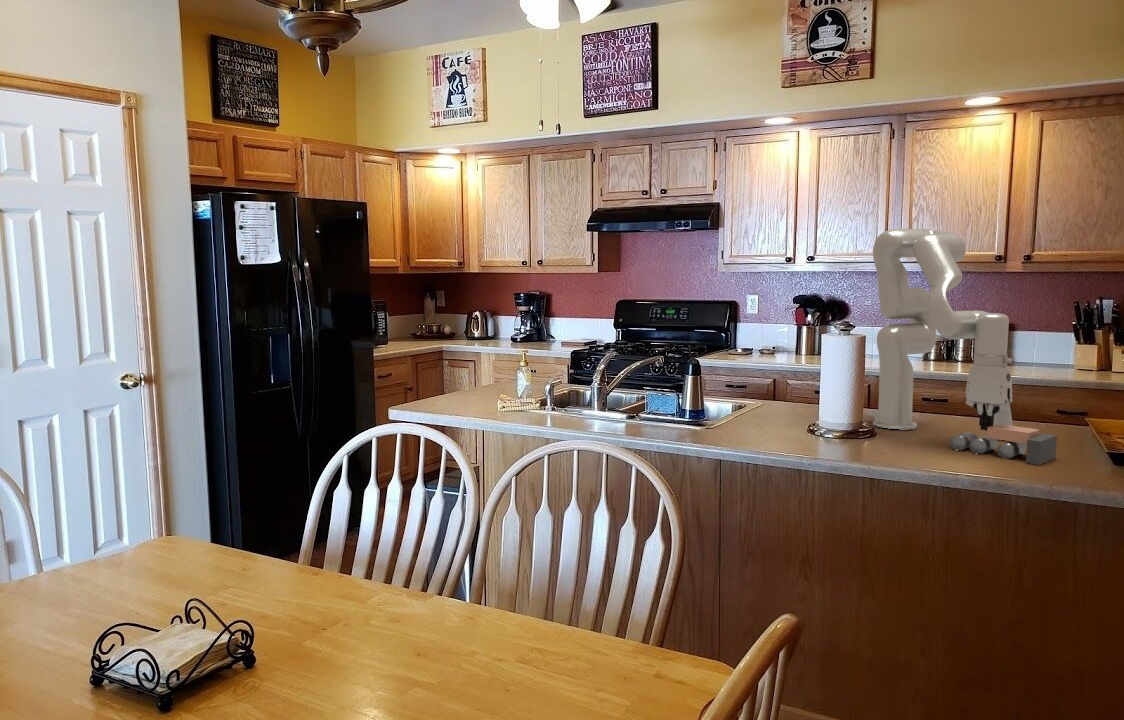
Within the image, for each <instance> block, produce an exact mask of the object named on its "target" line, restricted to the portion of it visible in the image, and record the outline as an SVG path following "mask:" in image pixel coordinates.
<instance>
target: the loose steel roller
mask: <svg viewBox="0 0 1124 720" xmlns="http://www.w3.org/2000/svg"><path fill="white" fill-rule="evenodd" d="M1026 451H1027V444H1025V443H1019V442H1012V441H1006V442H1004V443H1001V444H999V445H997V447H996V453H997V455H998V456H999V457H1000V458H1001V457H1004V458H1010V459H1012V458H1015V457H1017V456H1020V455H1022V454H1024V453H1025V452H1026ZM1004 458H1003V459H1004Z"/></svg>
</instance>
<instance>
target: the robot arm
mask: <svg viewBox="0 0 1124 720" xmlns="http://www.w3.org/2000/svg"><path fill="white" fill-rule="evenodd" d="M966 250H967V248H966V243H965V241H964V239H963V238H962V237H961V236H960V235H958V234H956V233H952V232H946V231H942V230H937V229H931V228H895V229H894V228H893V229H890V230H885V231H883V232H882V233H880V234H879V235H878V236H877V238H876V239H875V241H874V245H873V247H872V258H873V262H874V266H875V271H876V275H877V287H878V301H879V302H878V303H879V310H880V314H881V316H882V317H883V318H885V319H888V320H909V322H908V323H907V322H906V323H893V324H888V325H885V326H883V327H882V328H881V329H879V330H878V333H877V336H876V346H877V351H878V360H879V374H878V375H879V377H878V378H879V380H878V381H879V383H878V388H879V389H878V410H873V409H869V410H868V411H867V417H869V418H870V417H871V418H874V420H873V421H872V426H874V425H875V426H878V427H882V428H888V429H887V430H889V429H899V430H898V431H909V430H910V429H911V430H916V429H917V428H918V422H915V421H913V398H914V397H913V396H914V395H913V394H914V390H913V389H914V367H913V365H912V363H911V361H910V359H909V356H910V355H922V354H928V353H929V352H931V351H932V350H933V349H934V347H935V346H936V343H937V333H938V334H939V335H940V336H942V338H945V339H947V340H964V339H965V340H966V339H967V340H968V339H974V346H973V347H974V349H973V350H974V351H973V352H974V353H973V363H972V364H971V365H970V368H969V370H968V371H969V372H968V375H967V380H966V387H965V398H966V399H965V404H966V405H967V406H969V407H973V408H974V409H975V410H976V411H977V414H978V415H979V423H978V425H979V426H980V429H979V430H981V431H986V432H987V427H990V426H993V424H994V415H995V414H996V413H997V412H999V411H1001V410H1008V409H1011V404H1010V405H1009V403H1012V402H1013V379H1012V373H1011V372H1012V371H1011V367H1010V366H1008V364H1012V363H1013V358H1011V357H1008V356H1009V355H1008V342H1009V326H1010V323H1009V322H1010V319H1009V316H1008V315H1006V313H1005V314H1004V313H998V312H987V311H983V310H979V309H978V310H977V309H976V310H954V309H952V307H951V305H950V303H949V301H948V298H947V293H948V292H949V291H951V290H953V289H954V288H956V287H957V286H958V285H959V284H960V283H961V281H962V280H963V273H962V272H961V270H960V268H959V265H958V264H957V263H959V262H960V261H961V260H962V259H963V258H964V257H965V255H966V252H967V251H966ZM901 258H915V259H916V261H917V263H918V266H919V267H920V269H921V271H922V273H923V275H924V277H925V280H927V283H928V285H929V286H930V291H928V290H927V289H925V288H923V287H910V284H909V274H908V270H907V269H906V267H905V265H904V264H903V262H902V261H901V260H900V259H901ZM908 355H909V356H908ZM1011 401H1012V402H1011ZM998 405H1001V406H998ZM875 426H874V427H875ZM878 427H877V428H878ZM882 428H881V429H882ZM911 430H910V431H911Z"/></svg>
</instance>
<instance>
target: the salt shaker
mask: <svg viewBox="0 0 1124 720" xmlns="http://www.w3.org/2000/svg"><path fill="white" fill-rule="evenodd" d="M1012 402H1013V400H1012V401H1011V402H1010V403H1012ZM1010 403H1009V405H1010V406H1011V404H1010ZM998 406H1001V405H998ZM996 424H1002V425H1010V426H1014V423H1013V418H1012V409H1011V408H1010V409H1008V410H1001V411H999V412H997V413H996V414H995V415H994V424H993V425H996ZM997 441H1000V440H999V439H997Z"/></svg>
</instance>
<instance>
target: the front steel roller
mask: <svg viewBox="0 0 1124 720" xmlns="http://www.w3.org/2000/svg"><path fill="white" fill-rule="evenodd" d="M998 441H999V440H997V439H992V438H987V434H986V435H983V436H980V437H977V439H974V440H972V441H971V442H970V444H969V448H968V449H969V450H970V451H971V452H972V453H973V452H974V453H973V454H975V453H980V454H979V455H982V454H985V453H987V452H991V451H992V450H995V449H997V448H998V446H999V445H998V444H999V442H998Z"/></svg>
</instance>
